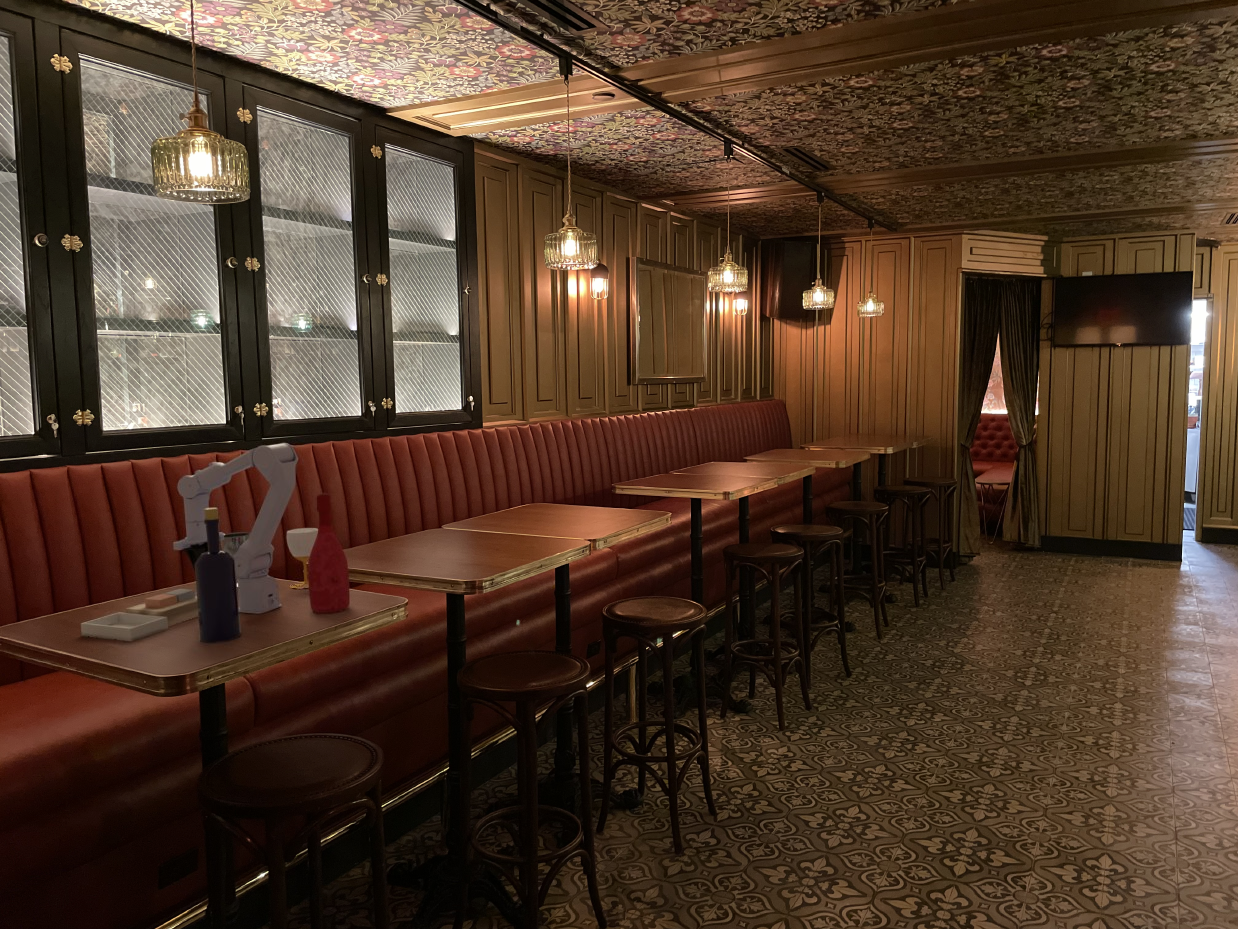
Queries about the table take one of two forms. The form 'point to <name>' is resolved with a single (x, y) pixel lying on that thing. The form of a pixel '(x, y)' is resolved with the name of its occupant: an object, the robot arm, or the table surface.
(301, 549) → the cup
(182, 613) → the board
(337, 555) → the wine bottle
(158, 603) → the terracotta tile
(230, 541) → the wine glass
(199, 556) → the robot arm
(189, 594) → the slate tile
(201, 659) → the table surface
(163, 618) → the box
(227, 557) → the bottle
